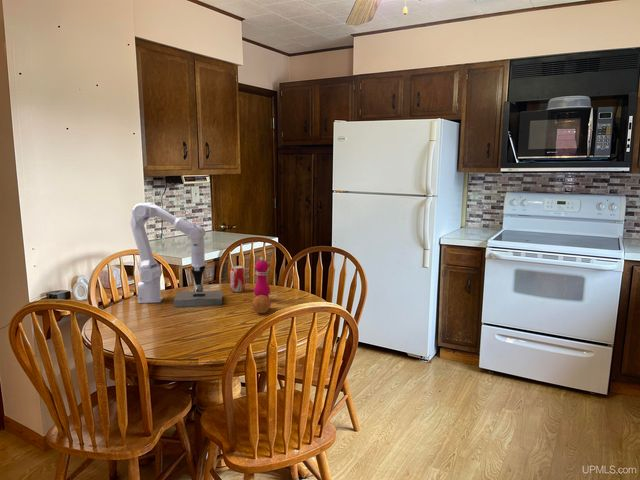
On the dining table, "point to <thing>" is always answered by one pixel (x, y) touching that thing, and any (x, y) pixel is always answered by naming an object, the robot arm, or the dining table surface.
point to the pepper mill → (262, 278)
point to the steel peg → (198, 286)
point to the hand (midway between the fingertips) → (198, 283)
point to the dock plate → (198, 298)
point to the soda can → (237, 278)
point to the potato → (261, 304)
